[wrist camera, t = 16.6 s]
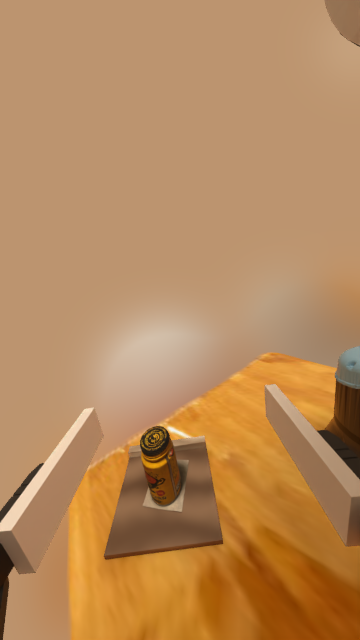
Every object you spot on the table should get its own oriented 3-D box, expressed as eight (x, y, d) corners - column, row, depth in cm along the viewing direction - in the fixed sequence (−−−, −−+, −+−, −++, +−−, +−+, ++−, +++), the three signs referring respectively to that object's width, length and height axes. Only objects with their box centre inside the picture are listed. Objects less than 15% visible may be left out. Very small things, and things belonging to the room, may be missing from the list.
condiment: (142, 506, 30) (127, 454, 28) (157, 458, 39) (147, 414, 36) (181, 513, 29) (170, 458, 26) (189, 461, 37) (180, 415, 34)
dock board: (223, 543, 25) (221, 533, 25) (105, 559, 26) (101, 549, 25) (205, 443, 41) (204, 435, 40) (132, 453, 41) (130, 446, 41)
